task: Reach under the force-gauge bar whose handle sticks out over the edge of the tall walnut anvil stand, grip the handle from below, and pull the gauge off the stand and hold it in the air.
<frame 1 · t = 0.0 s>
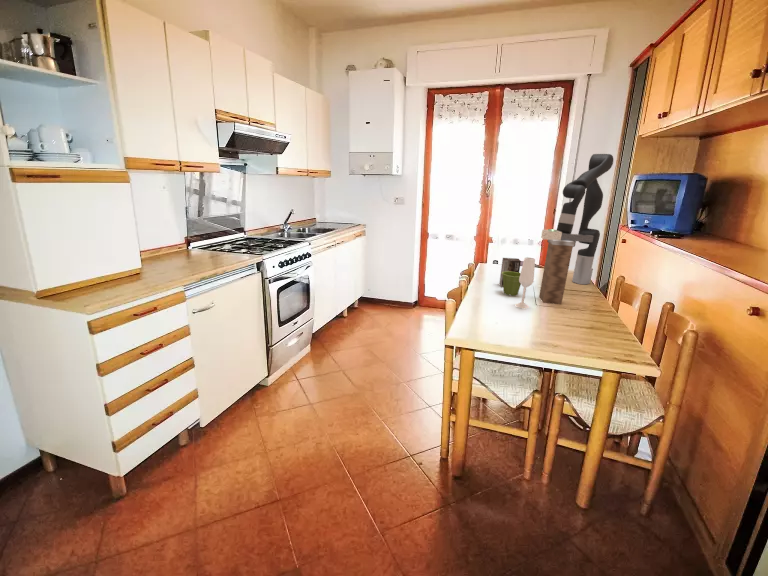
hand: (558, 252, 207), 22 cm above the table, tool pointing down, fingers open, 8 cm apart
coffee box: (507, 286, 221), on the table
anvil stand: (550, 300, 198), on the table
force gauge: (567, 240, 188), point 32 cm above the table, touching anvil stand
plant pot: (510, 294, 206), on the table
champagne flute: (521, 306, 188), on the table
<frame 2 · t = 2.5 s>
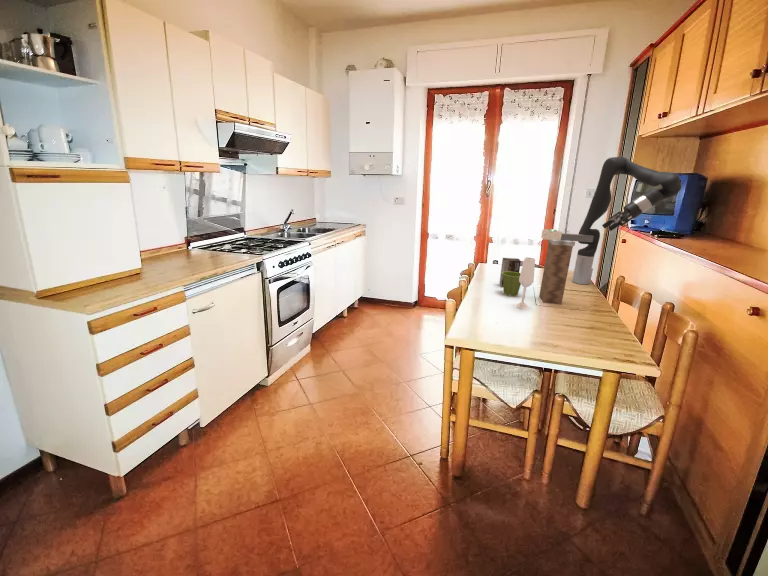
hand: (606, 228, 190), 38 cm above the table, tool tilted 45°, fingers open, 8 cm apart
nothing on the table moved.
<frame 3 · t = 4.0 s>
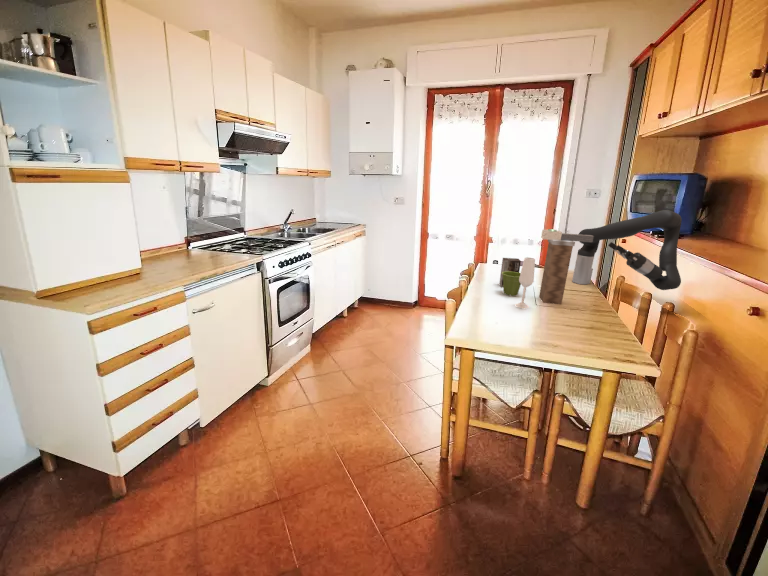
hand: (613, 245, 186), 31 cm above the table, tool pointing upward, fingers open, 8 cm apart
nothing on the table moved.
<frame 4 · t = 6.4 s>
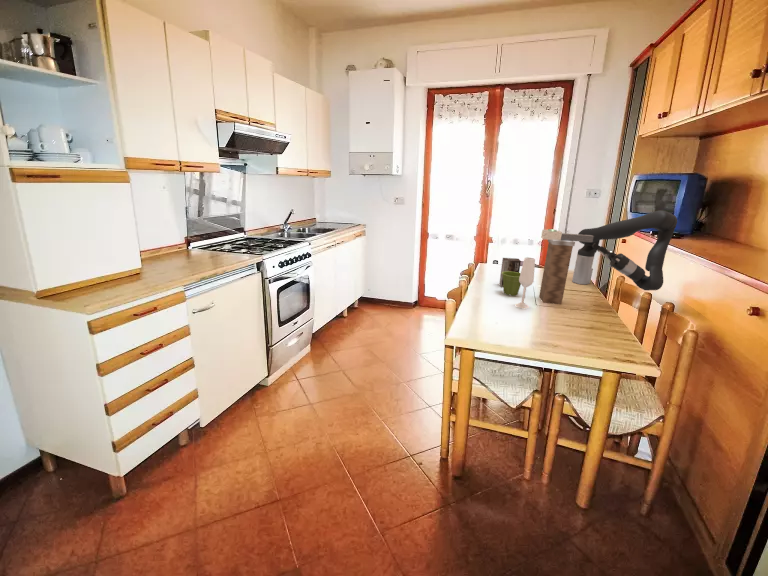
hand: (596, 246, 187), 30 cm above the table, tool pointing upward, fingers open, 8 cm apart
nothing on the table moved.
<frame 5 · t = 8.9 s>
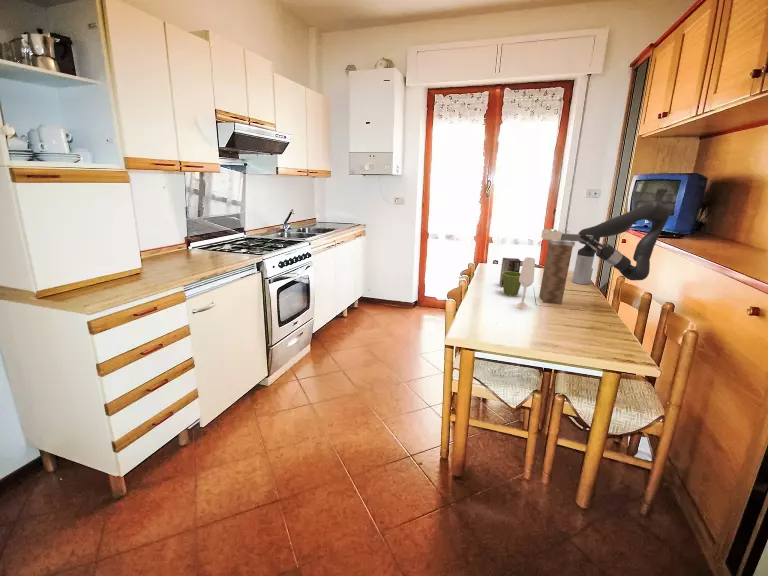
hand: (580, 235, 187), 35 cm above the table, tool pointing upward, fingers closed on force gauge, 3 cm apart
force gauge: (567, 240, 188), point 32 cm above the table, touching anvil stand, gripper
everything else where it was.
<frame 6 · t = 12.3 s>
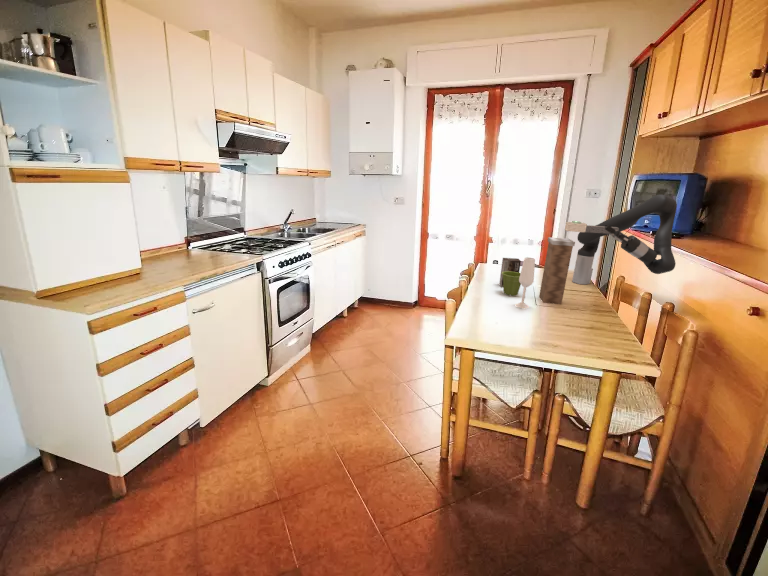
hand: (605, 226, 184), 40 cm above the table, tool pointing upward, fingers closed on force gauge, 3 cm apart
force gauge: (592, 232, 185), point 37 cm above the table, touching gripper
everything else where it was.
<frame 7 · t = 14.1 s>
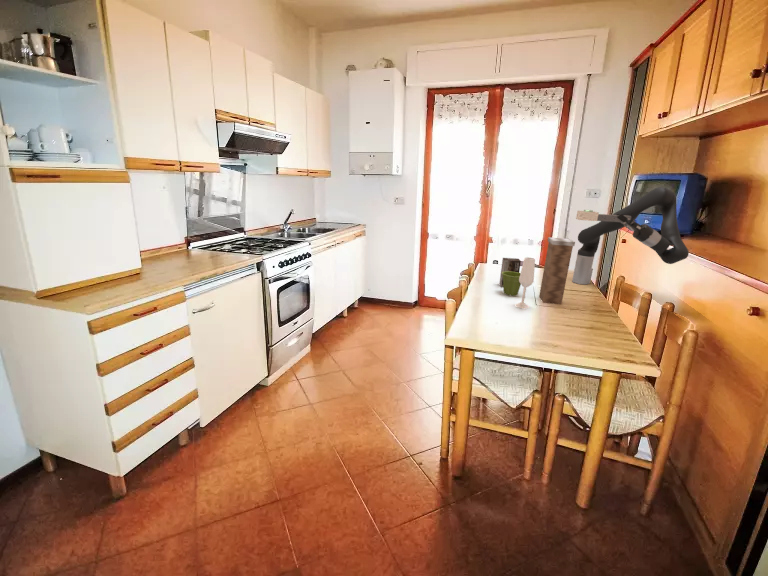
hand: (617, 215, 181), 45 cm above the table, tool pointing upward, fingers closed on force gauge, 3 cm apart
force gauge: (603, 220, 183), point 42 cm above the table, touching gripper
everything else where it was.
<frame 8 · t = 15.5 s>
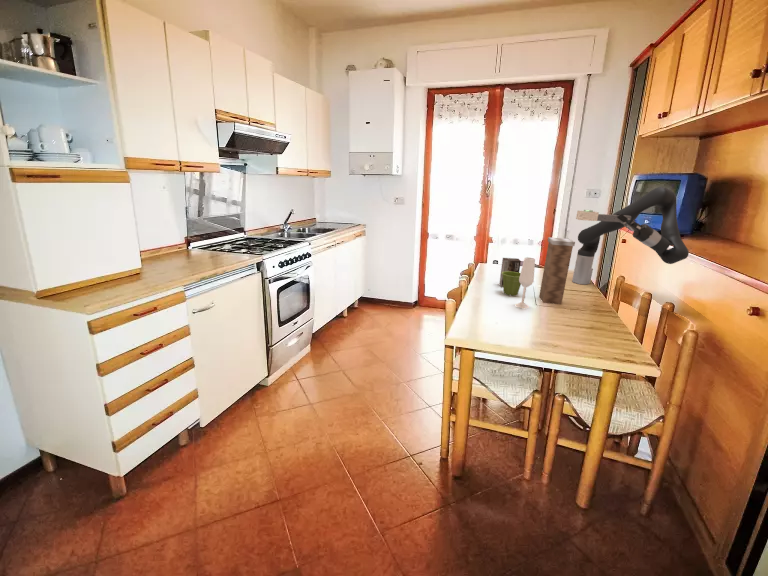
hand: (617, 215, 181), 45 cm above the table, tool pointing upward, fingers closed on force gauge, 3 cm apart
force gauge: (603, 220, 183), point 42 cm above the table, touching gripper
everything else where it was.
at the end: the gripper is holding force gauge; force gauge moved 17.9 cm from its start; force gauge touching gripper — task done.
